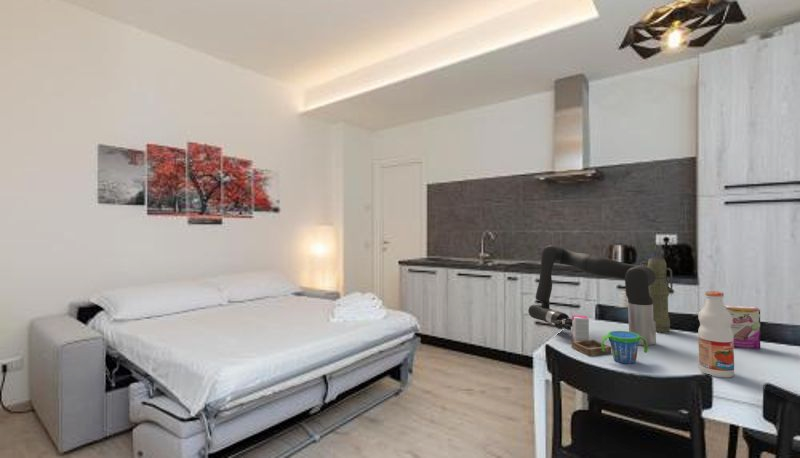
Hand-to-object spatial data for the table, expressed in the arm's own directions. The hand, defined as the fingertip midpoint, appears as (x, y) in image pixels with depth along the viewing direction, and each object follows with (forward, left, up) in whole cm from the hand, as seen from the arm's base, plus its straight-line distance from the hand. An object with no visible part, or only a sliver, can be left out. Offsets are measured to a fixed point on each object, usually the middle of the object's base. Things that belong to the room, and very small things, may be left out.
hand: (579, 327), depth 171 cm
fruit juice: (-21, +44, -7) cm, 49 cm away
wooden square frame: (+3, +11, -7) cm, 13 cm away
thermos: (-46, -4, -7) cm, 47 cm away
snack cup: (-1, +25, -7) cm, 26 cm away
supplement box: (0, +1, -7) cm, 7 cm away
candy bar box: (-57, +25, -7) cm, 63 cm away
